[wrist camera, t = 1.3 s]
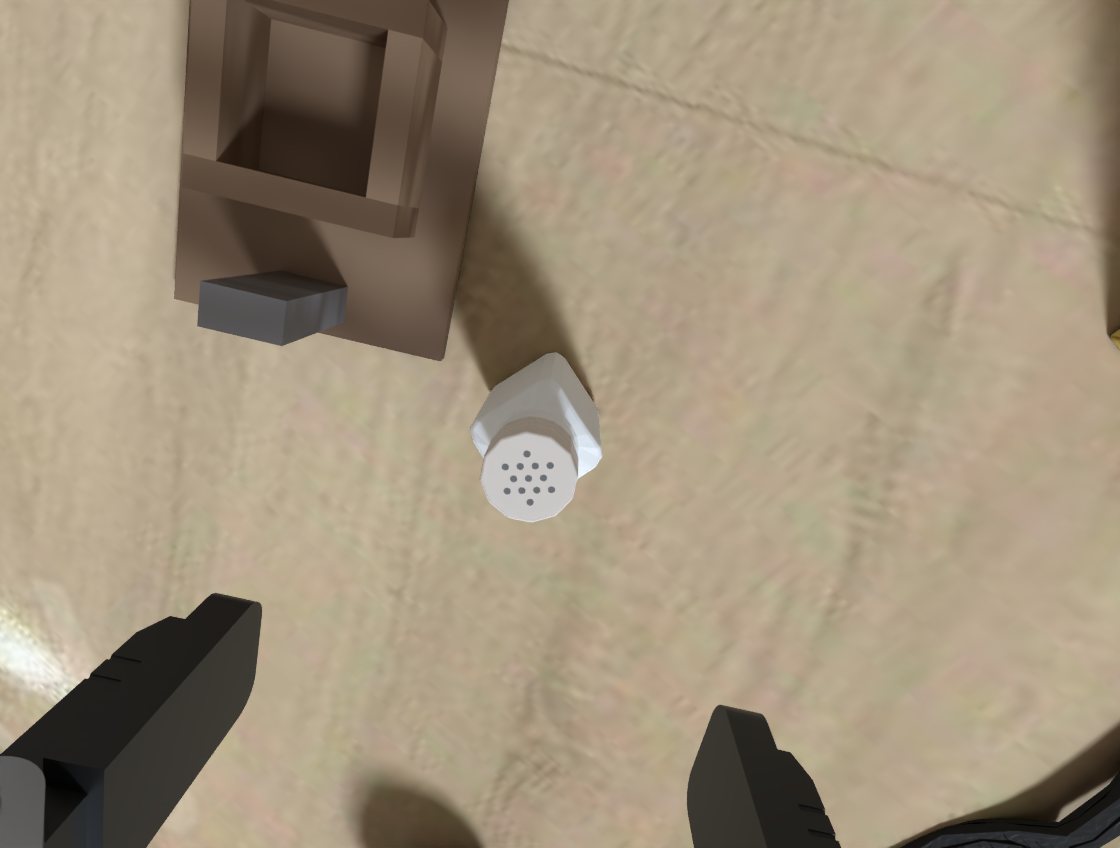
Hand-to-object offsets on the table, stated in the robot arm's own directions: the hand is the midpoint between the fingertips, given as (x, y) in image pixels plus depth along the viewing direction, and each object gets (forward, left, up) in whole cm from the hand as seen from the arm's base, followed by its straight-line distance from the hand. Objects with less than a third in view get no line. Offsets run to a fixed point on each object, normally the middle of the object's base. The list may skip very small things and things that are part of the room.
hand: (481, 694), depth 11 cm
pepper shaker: (0, 0, -20) cm, 20 cm away
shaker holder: (-10, -11, -20) cm, 25 cm away
